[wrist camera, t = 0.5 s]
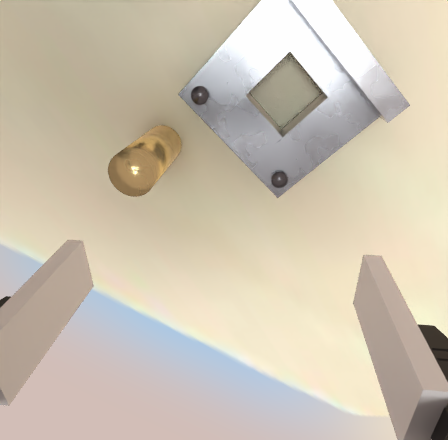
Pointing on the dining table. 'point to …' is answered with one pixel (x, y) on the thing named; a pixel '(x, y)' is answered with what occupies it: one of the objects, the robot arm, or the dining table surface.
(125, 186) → the brass cylinder
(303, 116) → the jig
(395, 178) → the dining table surface
